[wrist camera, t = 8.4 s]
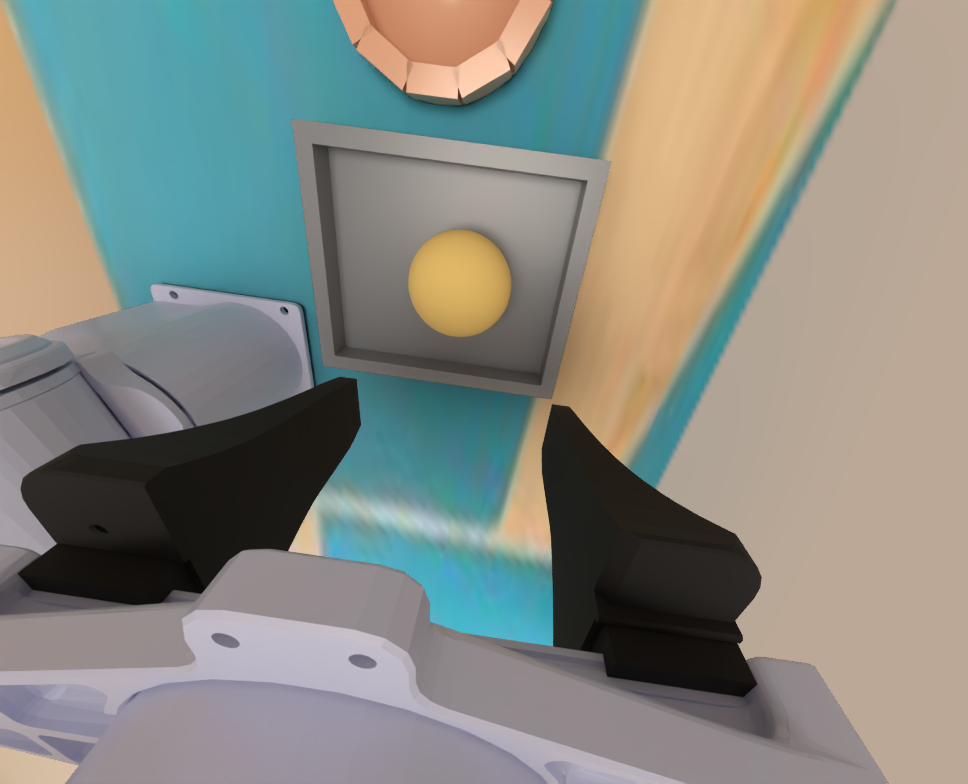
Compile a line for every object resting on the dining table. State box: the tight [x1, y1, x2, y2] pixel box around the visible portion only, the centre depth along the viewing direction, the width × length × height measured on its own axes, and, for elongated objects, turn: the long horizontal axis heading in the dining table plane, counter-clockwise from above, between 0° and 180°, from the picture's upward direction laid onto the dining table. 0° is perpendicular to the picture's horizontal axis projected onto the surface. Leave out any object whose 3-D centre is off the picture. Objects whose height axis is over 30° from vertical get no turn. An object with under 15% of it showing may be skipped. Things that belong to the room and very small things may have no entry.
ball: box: [408, 229, 511, 337], centre depth 17 cm, size 5×5×5 cm
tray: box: [292, 119, 611, 399], centre depth 19 cm, size 14×12×2 cm
